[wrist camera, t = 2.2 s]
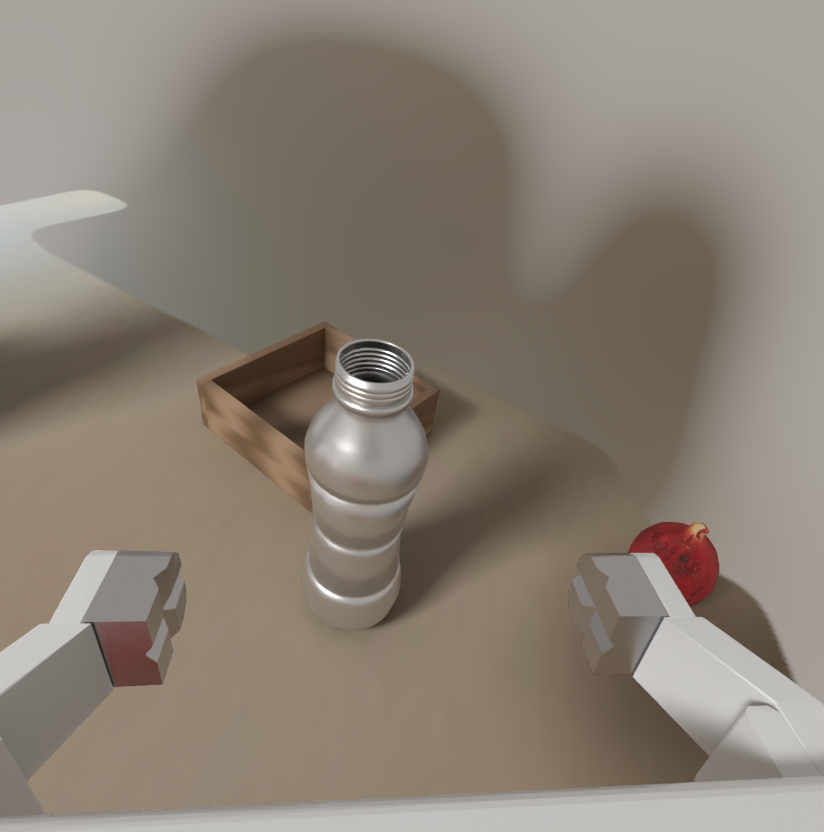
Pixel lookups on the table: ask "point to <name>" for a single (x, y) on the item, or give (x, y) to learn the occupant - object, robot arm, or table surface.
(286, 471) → the box
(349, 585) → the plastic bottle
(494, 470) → the table surface
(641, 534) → the red pomegranate
